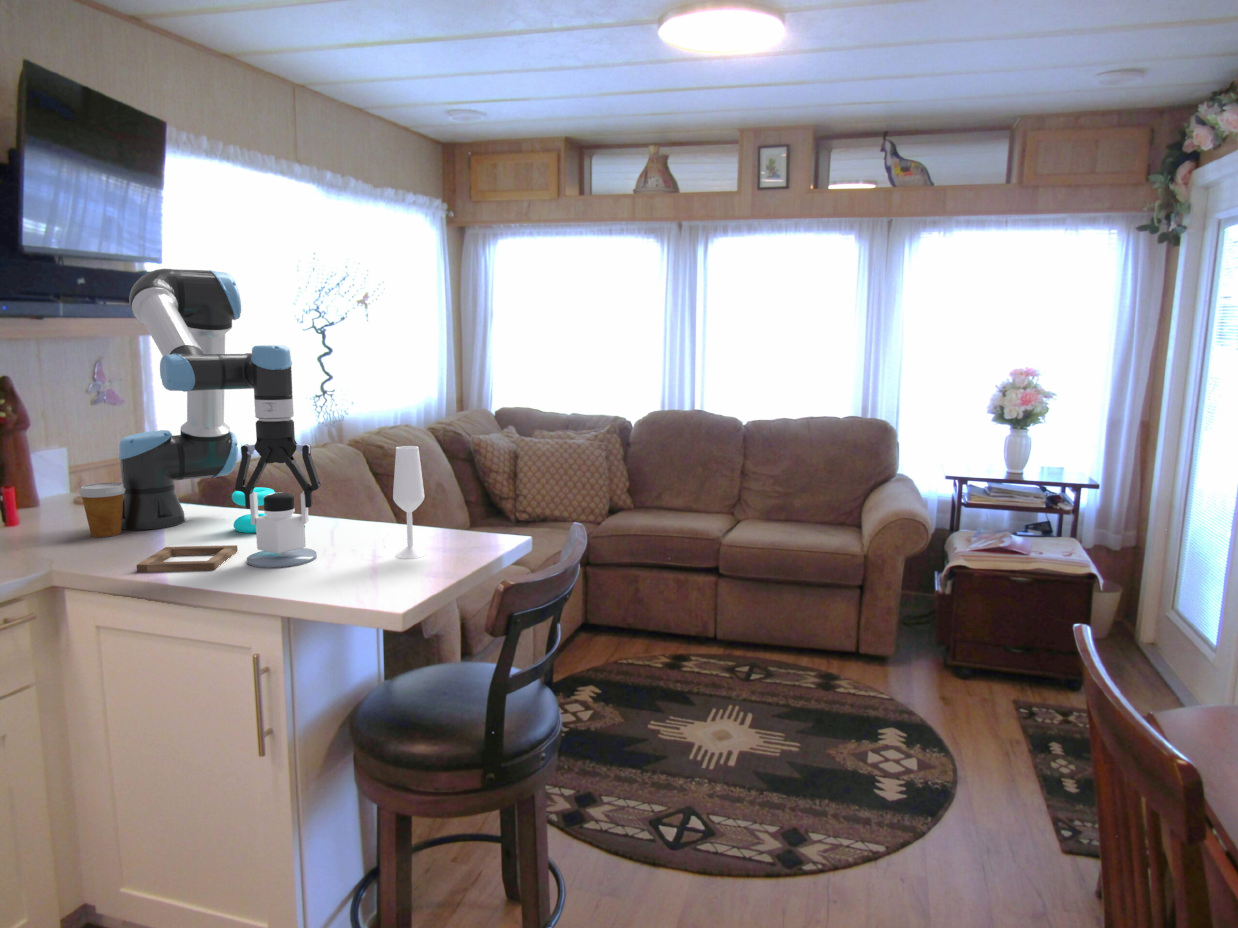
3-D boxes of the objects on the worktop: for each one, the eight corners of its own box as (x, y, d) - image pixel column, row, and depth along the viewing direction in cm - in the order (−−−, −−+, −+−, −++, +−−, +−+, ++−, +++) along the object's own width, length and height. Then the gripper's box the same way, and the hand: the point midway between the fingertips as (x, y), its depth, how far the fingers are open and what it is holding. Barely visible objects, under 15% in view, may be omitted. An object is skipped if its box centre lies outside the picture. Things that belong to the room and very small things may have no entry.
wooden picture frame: (166, 553, 186) (166, 546, 186) (237, 551, 188) (237, 545, 188) (136, 572, 172) (136, 564, 171) (214, 570, 173) (214, 562, 173)
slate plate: (258, 551, 188) (257, 548, 188) (322, 550, 190) (322, 546, 190) (238, 568, 174) (237, 565, 174) (308, 566, 176) (308, 563, 176)
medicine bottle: (306, 547, 183) (303, 492, 181) (278, 554, 177) (275, 498, 175) (284, 542, 187) (281, 489, 185) (256, 549, 181) (253, 494, 179)
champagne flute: (410, 560, 182) (407, 450, 178) (388, 555, 185) (384, 447, 182) (432, 553, 188) (429, 446, 184) (410, 549, 191) (407, 444, 188)
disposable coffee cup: (137, 530, 208) (133, 482, 206) (111, 539, 199) (106, 489, 197) (101, 529, 209) (97, 481, 207) (73, 538, 199) (68, 488, 198)
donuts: (243, 486, 213) (282, 486, 213) (245, 524, 215) (284, 525, 215) (223, 493, 204) (264, 494, 203) (226, 533, 205) (266, 534, 205)
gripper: (212, 421, 173) (219, 527, 176) (325, 420, 175) (330, 525, 179) (225, 417, 180) (231, 519, 183) (333, 417, 183) (337, 518, 186)
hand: (280, 522), depth 181 cm, fingers closed on medicine bottle, 10 cm apart
